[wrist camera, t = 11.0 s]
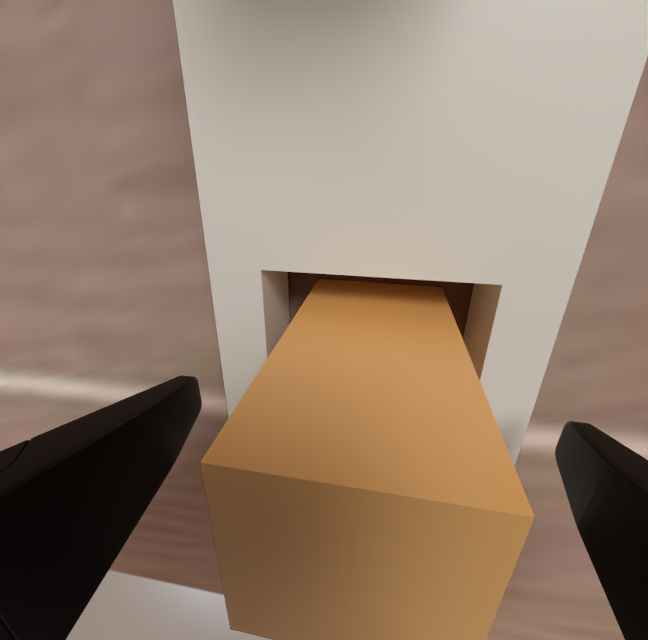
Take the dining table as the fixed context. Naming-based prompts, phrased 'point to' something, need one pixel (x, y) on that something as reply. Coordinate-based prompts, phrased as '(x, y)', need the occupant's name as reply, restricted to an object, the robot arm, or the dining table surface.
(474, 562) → the orange plug
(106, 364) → the dining table surface
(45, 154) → the dining table surface
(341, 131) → the white slotted frame
